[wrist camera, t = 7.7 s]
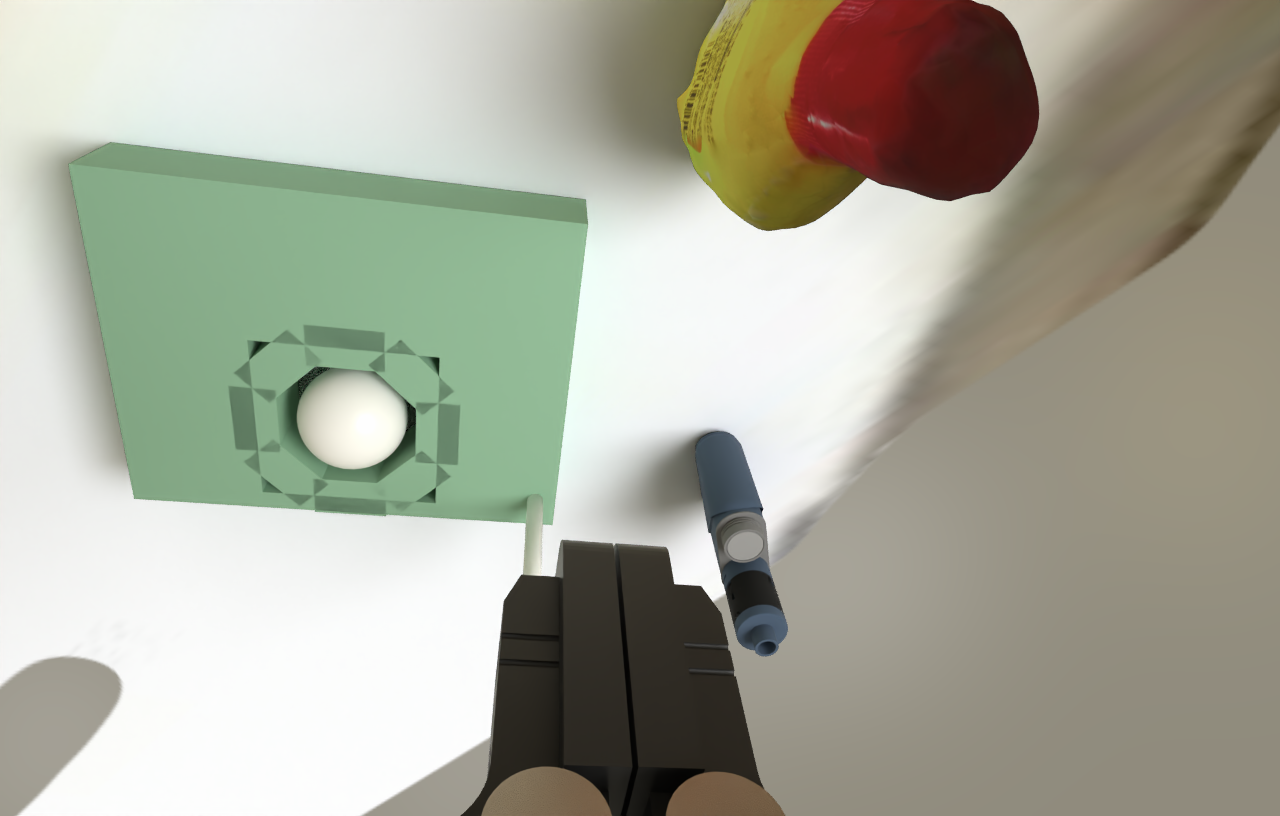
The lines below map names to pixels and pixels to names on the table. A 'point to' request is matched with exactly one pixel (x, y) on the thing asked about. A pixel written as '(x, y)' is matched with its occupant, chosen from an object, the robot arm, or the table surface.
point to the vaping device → (740, 542)
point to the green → (332, 330)
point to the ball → (351, 418)
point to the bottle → (855, 103)
